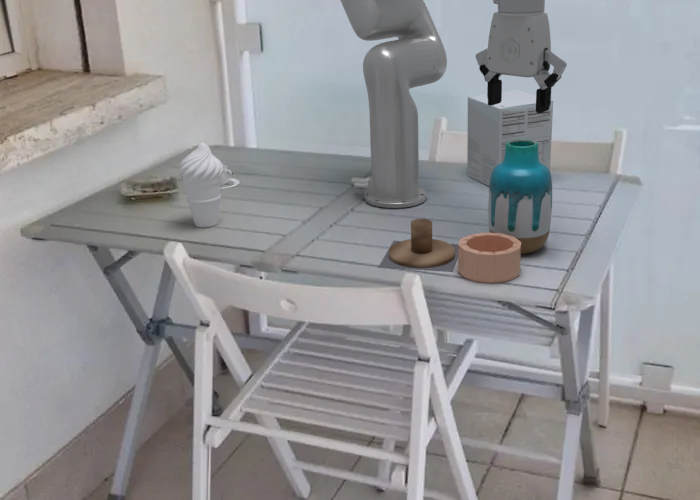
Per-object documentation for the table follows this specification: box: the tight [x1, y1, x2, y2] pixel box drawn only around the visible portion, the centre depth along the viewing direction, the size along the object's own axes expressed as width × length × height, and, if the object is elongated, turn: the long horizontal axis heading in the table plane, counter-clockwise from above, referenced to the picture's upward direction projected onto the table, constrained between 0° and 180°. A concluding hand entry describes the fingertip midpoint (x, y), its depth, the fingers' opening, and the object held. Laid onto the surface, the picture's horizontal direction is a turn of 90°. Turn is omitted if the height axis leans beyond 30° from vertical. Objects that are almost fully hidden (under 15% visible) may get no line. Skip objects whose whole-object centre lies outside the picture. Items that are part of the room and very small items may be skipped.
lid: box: [388, 218, 455, 268], centre depth 159 cm, size 11×11×6 cm
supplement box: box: [466, 89, 554, 187], centre depth 198 cm, size 13×13×18 cm
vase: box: [487, 139, 553, 255], centre depth 159 cm, size 11×11×19 cm
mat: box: [378, 240, 459, 273], centre depth 161 cm, size 12×12×1 cm
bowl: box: [457, 232, 522, 284], centre depth 152 cm, size 10×10×5 cm
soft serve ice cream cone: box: [178, 142, 224, 228], centre depth 178 cm, size 8×8×16 cm
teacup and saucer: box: [220, 165, 241, 190], centre depth 205 cm, size 9×8×4 cm
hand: (518, 107), depth 160 cm, fingers open, 9 cm apart
